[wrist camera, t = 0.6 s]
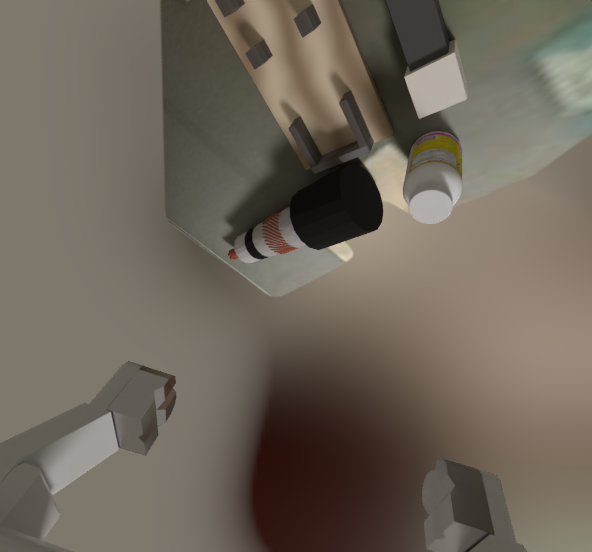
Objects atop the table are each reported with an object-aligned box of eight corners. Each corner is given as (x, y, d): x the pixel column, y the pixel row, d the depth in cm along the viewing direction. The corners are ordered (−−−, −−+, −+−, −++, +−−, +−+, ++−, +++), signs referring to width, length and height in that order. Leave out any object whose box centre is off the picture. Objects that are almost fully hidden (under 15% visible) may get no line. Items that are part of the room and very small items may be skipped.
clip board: (301, -98, 35) (288, -97, 32) (393, 131, 48) (389, 146, 45) (206, -10, 43) (189, -3, 40) (307, 166, 56) (300, 180, 53)
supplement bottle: (445, 181, 51) (441, 238, 42) (401, 165, 51) (390, 219, 43) (472, 139, 45) (475, 195, 37) (424, 121, 46) (415, 173, 38)
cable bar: (405, -155, 30) (398, -159, 27) (466, 83, 41) (467, 99, 38) (350, -108, 33) (339, -107, 30) (422, 102, 44) (419, 119, 41)
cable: (240, 226, 77) (202, 239, 70) (366, 159, 53) (329, 169, 46) (258, 268, 78) (223, 285, 71) (390, 221, 54) (357, 240, 47)
